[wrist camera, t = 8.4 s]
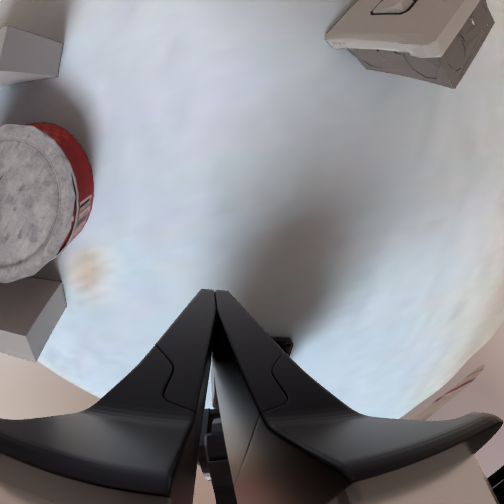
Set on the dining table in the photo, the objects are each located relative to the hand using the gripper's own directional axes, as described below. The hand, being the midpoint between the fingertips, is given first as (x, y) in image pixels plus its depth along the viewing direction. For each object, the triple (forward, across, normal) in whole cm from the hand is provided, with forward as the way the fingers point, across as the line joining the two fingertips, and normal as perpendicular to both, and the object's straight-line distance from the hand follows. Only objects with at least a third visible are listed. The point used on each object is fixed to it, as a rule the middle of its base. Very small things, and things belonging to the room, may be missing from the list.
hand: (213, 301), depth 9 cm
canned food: (+12, +13, 0) cm, 18 cm away
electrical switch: (+12, -10, -15) cm, 22 cm away
